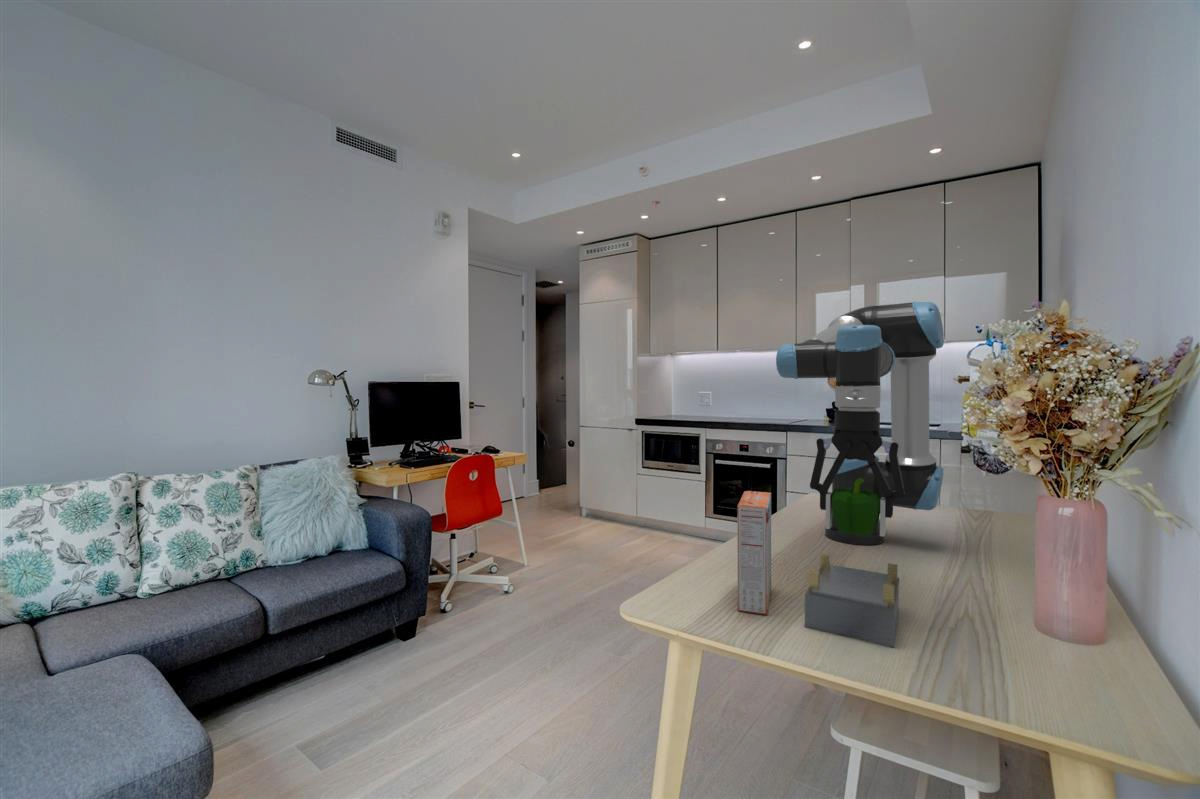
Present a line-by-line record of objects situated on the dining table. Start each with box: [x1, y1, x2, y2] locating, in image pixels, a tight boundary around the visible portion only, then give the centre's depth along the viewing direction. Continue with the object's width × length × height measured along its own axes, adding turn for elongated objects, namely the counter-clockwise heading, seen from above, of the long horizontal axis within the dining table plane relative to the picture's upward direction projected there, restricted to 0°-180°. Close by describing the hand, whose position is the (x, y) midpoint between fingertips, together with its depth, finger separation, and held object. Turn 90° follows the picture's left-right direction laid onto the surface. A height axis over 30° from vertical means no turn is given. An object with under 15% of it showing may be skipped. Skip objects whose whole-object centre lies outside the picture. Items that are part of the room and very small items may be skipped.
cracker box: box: [736, 490, 772, 616], centre depth 106 cm, size 14×6×21 cm, turn 159°
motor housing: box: [804, 552, 900, 648], centre depth 100 cm, size 21×14×9 cm, turn 148°
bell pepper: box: [831, 478, 880, 536], centre depth 98 cm, size 8×8×10 cm
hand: (855, 530), depth 98 cm, fingers closed on bell pepper, 8 cm apart
